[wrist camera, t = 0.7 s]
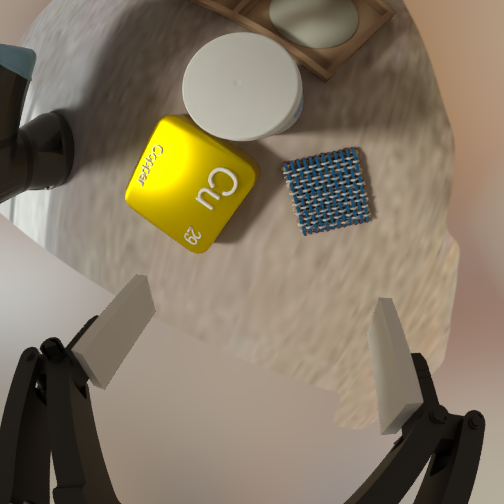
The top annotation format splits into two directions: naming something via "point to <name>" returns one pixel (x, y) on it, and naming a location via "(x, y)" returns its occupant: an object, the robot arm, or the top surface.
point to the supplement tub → (243, 87)
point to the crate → (309, 26)
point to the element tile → (189, 182)
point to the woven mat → (353, 191)
